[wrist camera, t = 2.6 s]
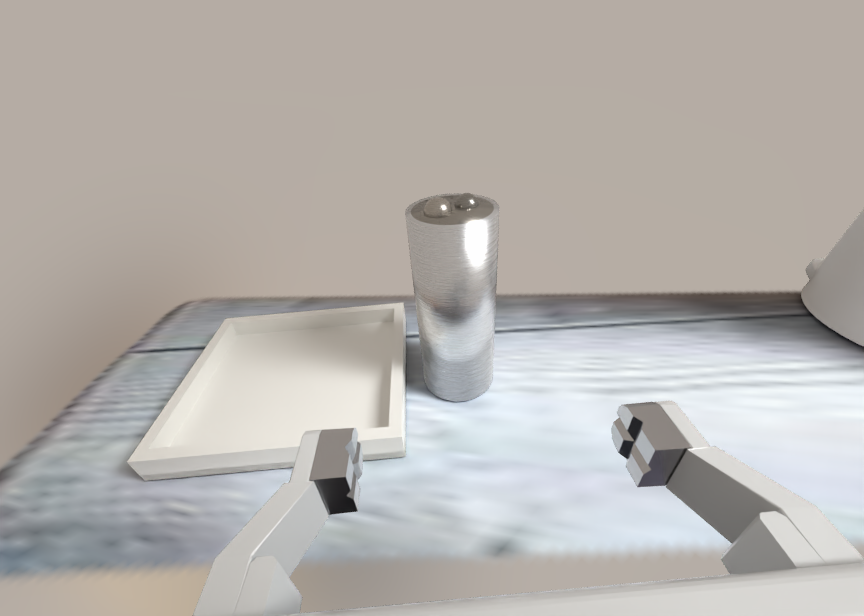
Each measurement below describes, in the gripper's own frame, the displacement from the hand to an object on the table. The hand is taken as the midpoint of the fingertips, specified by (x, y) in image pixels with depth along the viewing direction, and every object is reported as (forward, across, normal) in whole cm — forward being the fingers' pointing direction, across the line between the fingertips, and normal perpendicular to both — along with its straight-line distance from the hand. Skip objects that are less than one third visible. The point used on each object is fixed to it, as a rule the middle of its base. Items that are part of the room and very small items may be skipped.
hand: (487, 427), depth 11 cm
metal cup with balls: (+13, 0, +10) cm, 16 cm away
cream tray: (+13, +12, +10) cm, 20 cm away
